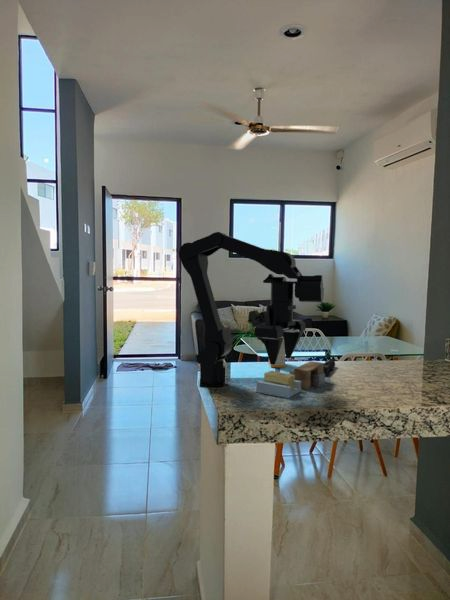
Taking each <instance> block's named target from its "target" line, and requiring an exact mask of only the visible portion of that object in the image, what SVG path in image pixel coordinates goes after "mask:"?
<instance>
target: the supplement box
mask: <svg viewBox="0 0 450 600" xmlns="http://www.w3.org/2000/svg"><path fill="white" fill-rule="evenodd" d="M281 338H283V336H282V337H281ZM268 363H269V366H270V367H271V368H277V369H278V368H282V369H283V368H286V367H285V366H286V355H285V345H284V338H283V341H282V344H281V347H280V351H279V354H278V357H277V360H276V363H275V364H274V365H273V364H270V361H269V360H268Z"/></svg>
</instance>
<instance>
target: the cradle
mask: <svg viewBox="0 0 450 600" xmlns="http://www.w3.org/2000/svg"><path fill="white" fill-rule="evenodd" d="M301 391H302V389H301V381H298V380H295V389H293V390H291V386H286V385H280V384H274V383H268V382H264V380H263V381H262V380H258V381H257V382H256V391H255V392H256V393H259V394H266V395H269V396H275V397H279V398H286V399H289V398H291V397H292V396H294V394H295V395H296V394H298V393H300V392H301Z"/></svg>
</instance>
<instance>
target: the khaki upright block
mask: <svg viewBox="0 0 450 600" xmlns="http://www.w3.org/2000/svg"><path fill="white" fill-rule="evenodd" d="M263 374H264V376H263V378H264V379H263V382H268V383H274V384H280V385H286V386H291V390H293V389H295V375H293V374H290V373H285V372H279V371H276V370H275V371H274V370H269V371H267V372H264V373H263Z"/></svg>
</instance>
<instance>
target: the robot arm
mask: <svg viewBox="0 0 450 600" xmlns="http://www.w3.org/2000/svg"><path fill="white" fill-rule="evenodd" d="M220 249H223V250H225V251H227V252H230V253H233V254H235V255H238V256H241V257H244V258H246V259H249V260H251V261H254V262H256V263H259V264H260V265H261V266H262V267H264V268H266V269H267V270H268V271H270V272H272V273H269V274H268V276H266V278H265V279H263V280H262V282H263V284H270V304H267V305H266V309H265V311H260V312H259V310H256V309H255V310H251V311H249V312H248V316H247V322H248V323H250V324H251V327H252V328H254V330H253V331H254V332H253V333H254V335H253V336H254V337H256V339H257V340H260V342H261V343H263V345H264V347H265V351H266V353H267V356H268V362H269V361H270V364H273V365H274V364H275V363H276V360H277V357H278V354H279V351H280V347H281V344H282V341H283V338H284V345H285V359H291V357H292V355H293V353H294V351H295V349H296V347H297V346H298V345H297V344H298V343H299V341H300V340H301V337H302V335H303V334H304V332H305V331H306V328H307V327H306V322H305V321H304V320H303V319H294V317H293V316H294V310H296V309H297V305H296V304H294V298H296V299H298V302H299V303H300V302H302V303H323V302H324V295H325V288H324V281H323V275H322V274H316V275H303V274H302V272H301V270H299V269H298V267H297V266H296V264H297V263H296V259H295V256H294V255H293V254H291V253H289V252H285V251H282V250H281V251H280V250H275V249H268V248H262V247H260V246H257V245H255V244H251V243H250V242H246V241H243V240H240V239H238V238H234V237H233V236H230V235H227V234H226V233H223V232H220V231H215V232H214V231H213V233H211V234H209V235H207V236H205V237H201V238H199V239H196V240H194V241H192V242H185V243H183V244H182V245H181V246H180V248H179V250H178V252H177V253H178V258H179V261H180V262H181V265H182V266H183V269H184V270H185V271H186V273H187V274H188V275H189V277H190V278H191V283H192V286H193V290H194V294H195V297H196V300H197V303H198V308H199V311H200V316H201V318H202V319H201V320H202V322H203V326H204V331H203V345H204V348H203V349H202V350H201V351H200V352H199V353H198V354H196V356H195V357H196V361H197V363H198V364H199V370H200V371H199V373H200V374H199V376H200V377H199V386H200V387H224V386H225V385H224V383H226V365H224V360H225V359H226V357H227V355H228V354H229V353H230V352H231V351H232V350H233V349H232V348H233V346H234V345H233V342H234V341H235V340H234V338H233V336H232V332H231V327H230V326H227V327H225V326H224V325H223V323H222V321H221V317H220V315H219V311H218V307H217V303H216V301H215V297H214V293H213V290H212V286H211V283H210V279H209V275H208V267H209V260H208V258H209V256H212V255H213V254H215V253H216V252H218V251H219V250H220ZM273 273H274V274H276V275H279V276H274V274H273ZM281 275H283V276H281ZM287 278H288V279H291V280H292V279H294V280H295V279H296V280H295V281H294V280H293V281H291V280H287ZM282 336H283V338H281V337H282ZM270 364H269V365H270Z"/></svg>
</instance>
